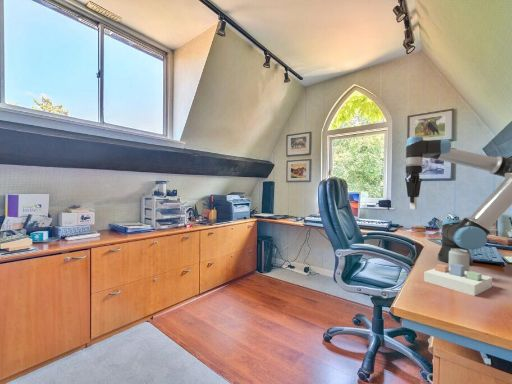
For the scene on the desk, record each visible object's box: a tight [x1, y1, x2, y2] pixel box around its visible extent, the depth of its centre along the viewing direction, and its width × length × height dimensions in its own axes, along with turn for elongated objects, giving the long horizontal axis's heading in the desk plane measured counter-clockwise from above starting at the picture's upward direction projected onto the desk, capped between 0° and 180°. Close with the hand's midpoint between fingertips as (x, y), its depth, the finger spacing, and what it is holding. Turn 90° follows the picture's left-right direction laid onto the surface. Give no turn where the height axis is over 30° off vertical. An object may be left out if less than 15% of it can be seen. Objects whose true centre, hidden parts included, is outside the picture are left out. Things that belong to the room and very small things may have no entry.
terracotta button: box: [434, 263, 449, 273], centre depth 107 cm, size 4×4×5 cm
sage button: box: [467, 270, 483, 281], centre depth 97 cm, size 4×4×5 cm
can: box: [447, 248, 471, 272], centre depth 113 cm, size 8×8×12 cm
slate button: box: [450, 263, 465, 277], centre depth 102 cm, size 4×4×5 cm
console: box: [423, 267, 493, 297], centre depth 102 cm, size 18×17×4 cm
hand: (413, 208), depth 131 cm, fingers closed
